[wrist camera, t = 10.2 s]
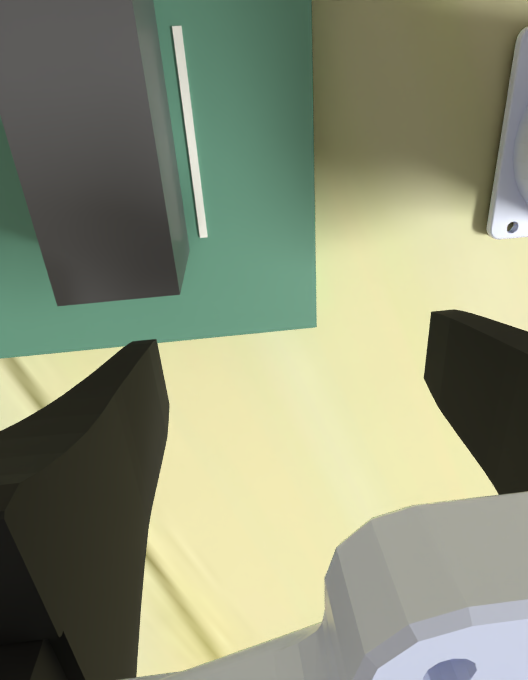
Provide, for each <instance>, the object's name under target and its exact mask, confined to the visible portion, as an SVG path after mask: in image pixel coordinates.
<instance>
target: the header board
mask: <svg viewBox="0 0 528 680" xmlns="http://www.w3.org/2000/svg"><path fill="white" fill-rule="evenodd" d="M153 2H154V9H155V16H156V23H157V30H158V36H159V43H160V50H161V57H162V64H163V71H164V78H165V84H166V91H167V98H168V105H169V112H170V119H171V126H172V132H173V139H174V146H175V153H176V160H177V167H178V174H179V181H180V187H181V194H182V201H183V208H184V215H185V222H186V229H187V235H188V242H189V249H190V251H189V256H188V260H187V265H186V270H185V274H184V279H183V284H182V288H181V293H180V295H173V296H162V297H151V298H141V299H130V300H120V301H109V302H99V303H88V304H78V305H67V306H57V303H56V300H55V297H54V293H53V290H52V287H51V283H50V280H49V277H48V273H47V270H46V267H45V263H44V260H43V257H42V253H41V250H40V247H39V243H38V240H37V237H36V233H35V230H34V227H33V223H32V220H31V216H30V213H29V210H28V206H27V203H26V200H25V196H24V193H23V190H22V186H21V183H20V180H19V176H18V173H17V170H16V166H15V163H14V160H13V156H12V153H11V150H10V146H9V143H8V140H7V136H6V133H5V130H4V126H3V123H2V120H1V116H0V358H10V357H20V356H30V355H41V354H51V353H61V352H71V351H81V350H91V349H101V348H111V347H121V346H126V345H128V344H129V343H131V342H132V341H140V340H151V339H156V340H157V343H162V342H172V341H182V340H192V339H202V338H212V337H222V336H232V335H243V334H253V333H263V332H273V331H283V330H293V329H303V328H313V327H317V323H316V258H315V192H314V127H313V61H312V0H153Z"/></svg>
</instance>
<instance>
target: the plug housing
mask: <svg viewBox="0 0 528 680" xmlns="http://www.w3.org/2000/svg"><path fill="white" fill-rule="evenodd" d="M0 116H1V120H2V123H3V126H4V130H5V133H6V136H7V140H8V143H9V146H10V150H11V153H12V156H13V160H14V163H15V166H16V170H17V173H18V176H19V180H20V183H21V186H22V190H23V193H24V196H25V200H26V203H27V206H28V210H29V213H30V216H31V220H32V223H33V227H34V230H35V233H36V237H37V240H38V243H39V247H40V250H41V253H42V257H43V260H44V263H45V267H46V270H47V273H48V277H49V280H50V283H51V287H52V290H53V293H54V297H55V300H56V303H57V306H67V305H78V304H88V303H99V302H109V301H120V300H130V299H141V298H151V297H162V296H173V295H180V293H181V288H182V284H183V279H184V274H185V270H186V265H187V260H188V256H189V251H190V249H189V242H188V235H187V229H186V222H185V215H184V208H183V201H182V194H181V187H180V181H179V174H178V167H177V160H176V153H175V146H174V139H173V132H172V126H171V119H170V112H169V105H168V98H167V91H166V84H165V78H164V71H163V64H162V57H161V50H160V43H159V36H158V30H157V23H156V16H155V9H154V2H153V0H0Z"/></svg>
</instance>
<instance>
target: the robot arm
mask: <svg viewBox="0 0 528 680" xmlns="http://www.w3.org/2000/svg"><path fill="white" fill-rule="evenodd" d="M510 222H513V227H512V228H511V229H510V230H509V231H507V226H508V224H509V223H510ZM487 233H488V235H489V236H491V237H492V238H495V239H508V238H518V237H528V26H527V27H525V28H524V29H523V30H521V32H520V33H519V35H518V37H517V40H516V44H515V50H514V56H513V63H512V69H511V76H510V82H509V88H508V95H507V101H506V107H505V114H504V120H503V126H502V133H501V139H500V145H499V152H498V158H497V165H496V171H495V177H494V184H493V190H492V196H491V203H490V209H489V215H488V222H487ZM424 379H425V382H426V384H427V386H428V388H429V390H430V392H431V394H432V396H433V398H434V400H435V402H436V404H437V406H438V407H439V409H440V410H441V412H442V413H443V415H444V416H445V418H446V419H447V420H448V422H449V423H450V425H451V426H452V427H453V429H454V430H455V432H456V433H457V434H458V436H459V437H460V439H461V440H462V441H463V443H464V444H465V445H466V447H467V448H468V450H469V451H470V452H471V454H472V455H473V456H474V458H475V459H476V461H477V462H478V463H479V465H480V466H481V467H482V469H483V470H484V472H485V473H486V475H487V476H488V478H489V479H490V481H491V482H492V484H493V485H494V487H495V489H496V490H497V492H498V494H499V495H494V496H485V497H477V498H468V499H460V500H452V501H443V502H435V503H427V504H418V505H412V506H409V507H405V508H402V509H399V510H396V511H392V512H389V513H386V514H383V515H379V516H376V517H373V518H371V519H370V520H369V521H367V522H366V523H365V524H364V525H362V526H361V527H360V528H359V529H357V530H356V531H355V532H354V533H353V534H351V535H350V536H349V537H348V538H346V539H345V540H344V541H343V542H341V543H340V544H339V545H338V546H337V547H336V550H335V552H334V555H333V558H332V560H331V563H330V566H329V568H328V571H327V573H326V576H325V611H324V616H323V621H322V622H320V623H317V624H314V625H311V626H308V627H306V628H303V629H300V630H297V631H294V632H291V633H289V634H286V635H283V636H280V637H277V638H275V639H272V640H269V641H266V642H263V643H260V644H258V645H255V646H252V647H249V648H246V649H244V650H241V651H238V652H235V653H232V654H229V655H227V656H224V657H221V658H218V659H215V660H213V661H210V662H207V663H204V664H201V665H198V666H196V667H193V668H190V669H187V670H184V671H181V672H173V673H166V674H158V675H151V676H143V677H136V673H137V656H138V642H139V627H140V613H141V600H142V589H143V578H144V566H145V556H146V547H147V537H148V528H149V522H150V516H151V510H152V505H153V501H154V496H155V492H156V487H157V483H158V478H159V473H160V469H161V464H162V460H163V455H164V450H165V446H166V441H167V434H168V421H169V400H168V395H167V390H166V385H165V380H164V375H163V370H162V365H161V360H160V355H159V350H158V345H157V340H156V339H151V340H140V341H132V342H131V343H129V344H128V345H126V346H125V347H124V348H122V349H121V350H120V351H119V352H117V353H116V354H115V355H114V356H113V357H111V358H110V359H109V360H108V361H107V362H105V363H104V364H103V365H102V366H100V367H99V368H98V369H97V370H96V371H94V372H93V373H92V374H91V375H89V376H88V377H87V378H85V379H84V380H83V381H81V382H80V383H79V384H77V385H76V386H75V387H73V388H72V389H70V390H69V391H68V392H66V393H65V394H64V395H62V396H61V397H59V398H58V399H56V400H55V401H53V402H52V403H50V404H49V405H47V406H46V407H44V408H42V409H41V410H39V411H37V412H35V413H34V414H32V415H30V416H29V417H27V418H25V419H23V420H22V421H20V422H18V423H16V424H14V425H12V426H10V427H8V428H6V429H4V430H2V431H0V680H528V332H527V331H524V330H521V329H518V328H515V327H512V326H509V325H506V324H503V323H500V322H497V321H494V320H491V319H488V318H485V317H482V316H479V315H475V314H472V313H468V312H464V311H460V310H445V311H435V312H431V319H430V328H429V337H428V346H427V355H426V364H425V373H424Z"/></svg>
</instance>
